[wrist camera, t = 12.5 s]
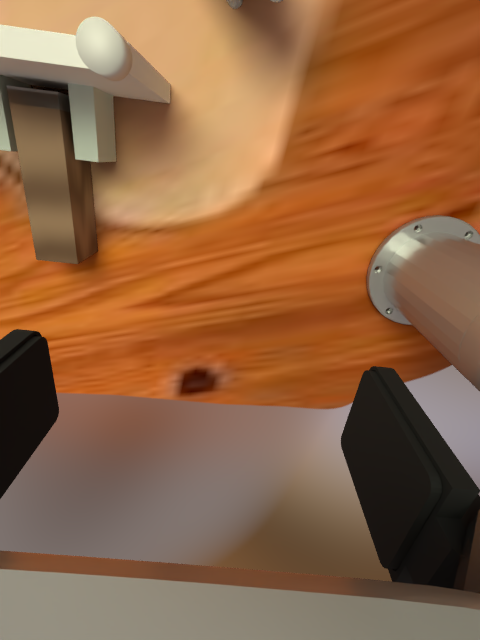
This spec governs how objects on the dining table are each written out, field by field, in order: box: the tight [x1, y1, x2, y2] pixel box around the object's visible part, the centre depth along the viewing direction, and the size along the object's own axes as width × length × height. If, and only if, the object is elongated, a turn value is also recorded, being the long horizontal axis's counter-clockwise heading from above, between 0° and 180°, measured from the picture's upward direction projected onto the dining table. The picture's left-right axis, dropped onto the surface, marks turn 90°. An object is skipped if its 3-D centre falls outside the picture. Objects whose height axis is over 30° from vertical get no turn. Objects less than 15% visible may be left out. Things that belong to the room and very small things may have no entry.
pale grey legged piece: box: [0, 17, 170, 162], centre depth 25 cm, size 20×7×14 cm, turn 83°
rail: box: [6, 85, 98, 264], centre depth 31 cm, size 14×4×5 cm, turn 174°
